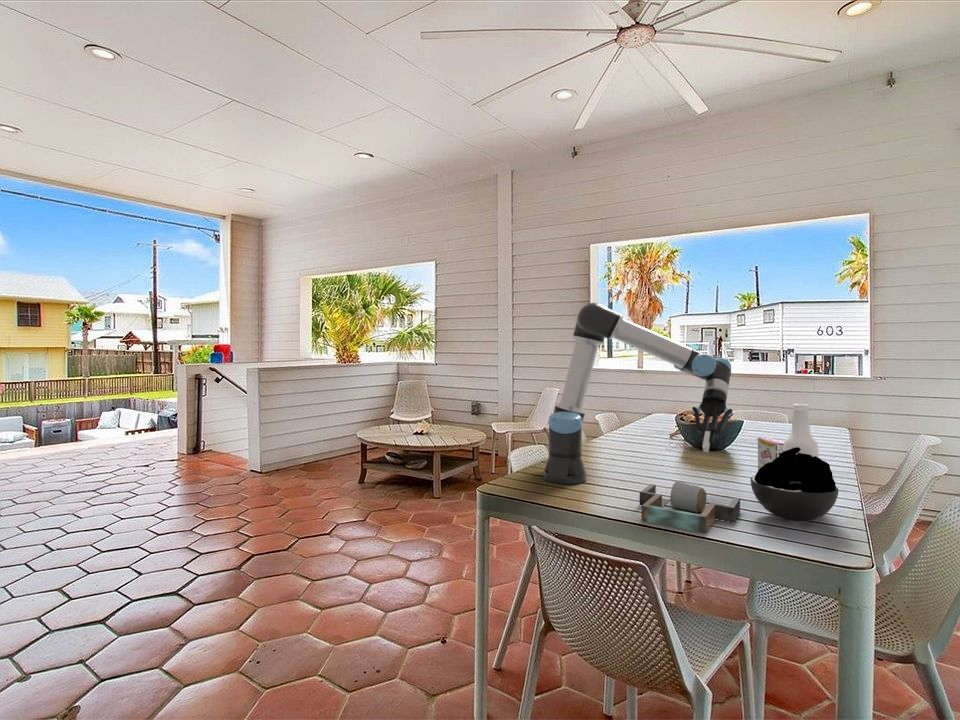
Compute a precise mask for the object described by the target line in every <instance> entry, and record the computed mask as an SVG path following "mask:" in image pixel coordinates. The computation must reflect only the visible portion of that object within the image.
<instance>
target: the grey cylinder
mask: <svg viewBox="0 0 960 720" xmlns="http://www.w3.org/2000/svg"><path fill="white" fill-rule="evenodd" d="M670 491H671V492H670V496H669V499H670V506H671V507H672V508H673V509H676V510H677V509H678V510H680V511H686V512H690V513H696V514H701V513H702V512H703V511H704V510H705V508H706V504H707V492H706V490H705V488H703V487H700V486H698V485H694V484H689V483H685V482H683V481H682V482H681V481H675V482H674V483H673V484H672V486H671V490H670Z"/></svg>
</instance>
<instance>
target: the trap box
mask: <svg viewBox="0 0 960 720" xmlns="http://www.w3.org/2000/svg"><path fill="white" fill-rule="evenodd" d="M656 487H657V486H656V484H654V483H653V484H651V483H650V484H649V485H648V486H646V487H644V488H643V489H642V490H641V491H639V506H640V505H641V509H640V510H641V515H640V516H641V521H643V522H648V523H654V524H659V525H663V526H667V527H672V528H673V527H674V528H677V529H683V530H686V531H687V530H688V531H692V532H698V533H702V534H703V533H704V534H706V533H707V532H708V531H709V529H710V528H711V526H712V525H713V523H714V522H715V521H716V520H715V519H718V520H717V521H721V520H724V521H723V522H726V521H729V522H728V523H732V522H734V523H735V522H736V520H737V518H738V517H739V515H738V514H740V513H741V497H737V496H736V497H735V496H734V497H733V498H732V499H731V501H730V502H729V504H722V503H716V502H712V501H711V502H710V503H709V504H707V506H705V508H704V510H703V511H702V512H700V513H695V512H690V511H684V510H679V509H678V510H677V509H671V508H666V507H665V506H666V505H667V504H668V503H669V502H671V500H670V498H665V497H663V495H662V493H657V491H656V489H657V488H656ZM664 505H665V506H664ZM663 506H664V507H663ZM739 512H740V513H739ZM735 519H736V520H735Z"/></svg>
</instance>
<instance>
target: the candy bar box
mask: <svg viewBox="0 0 960 720" xmlns="http://www.w3.org/2000/svg"><path fill="white" fill-rule="evenodd" d="M783 445H784V441H783V440H780V439H776V438H773V437H757V471H758V470H759V469H760V468H761V467H762V466H764V464H766V463H769V462H772V461H773V460H774V459H775V458H777V457H779V456H780V455H779V453H782V452H783Z"/></svg>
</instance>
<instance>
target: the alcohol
mask: <svg viewBox="0 0 960 720" xmlns="http://www.w3.org/2000/svg"><path fill="white" fill-rule="evenodd" d="M792 406H793V408H792V410H793V411H792V421H791V422H792V424H791V431H790V434H789V435H788V436H787V437H786V438H785V439H784V441H783V442H784V445H783V451H787V450H789V449H792V448H796V447H799V448H800V449H801V450H800V451H799V452H798V453H801V454H809V455H811V456H812V457H814V456H816V457H818V458H819V449H820V448H819V445H818V442H817V441H816V440H815V438H814V437H813V436H812V433H811V426H810V417H809V416H810V414H809V411H810V408H809V407H810V405H809V404H808V403H807V404H806V403H794V404H792ZM796 454H797V453H796Z"/></svg>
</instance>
